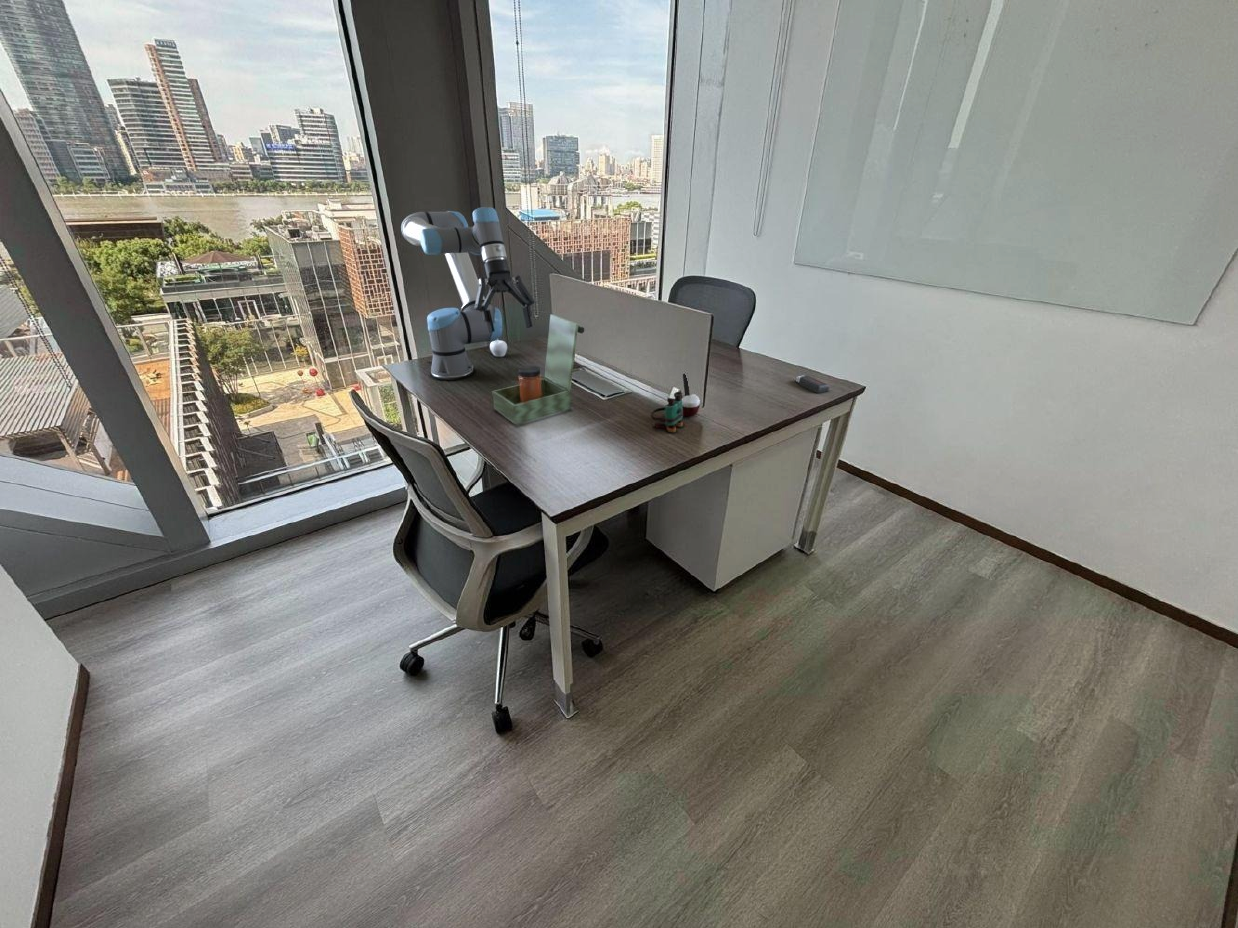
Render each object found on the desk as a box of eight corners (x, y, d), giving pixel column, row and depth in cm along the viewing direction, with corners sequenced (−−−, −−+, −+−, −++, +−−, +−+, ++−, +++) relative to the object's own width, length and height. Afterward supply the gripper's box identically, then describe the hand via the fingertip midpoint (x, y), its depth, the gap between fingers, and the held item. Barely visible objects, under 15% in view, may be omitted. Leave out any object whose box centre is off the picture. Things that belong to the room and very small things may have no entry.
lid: (576, 323, 146) (591, 324, 149) (550, 314, 155) (565, 314, 159) (568, 389, 154) (583, 388, 158) (544, 376, 164) (559, 376, 167)
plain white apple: (493, 352, 208) (491, 334, 204) (510, 353, 208) (508, 334, 203) (488, 357, 202) (486, 338, 198) (505, 358, 202) (503, 339, 197)
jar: (517, 407, 158) (513, 368, 151) (536, 402, 161) (533, 363, 155) (528, 414, 153) (524, 374, 146) (547, 409, 157) (544, 369, 150)
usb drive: (817, 393, 174) (819, 386, 173) (793, 382, 184) (795, 375, 182) (828, 391, 176) (830, 384, 175) (804, 380, 186) (805, 373, 184)
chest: (516, 426, 147) (514, 406, 144) (494, 410, 157) (492, 390, 154) (570, 410, 158) (569, 391, 154) (546, 396, 168) (545, 377, 164)
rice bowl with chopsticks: (698, 420, 153) (702, 384, 147) (678, 419, 154) (681, 383, 147) (698, 408, 161) (701, 374, 155) (679, 407, 162) (682, 372, 156)
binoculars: (658, 387, 150) (688, 391, 145) (659, 419, 155) (688, 424, 150) (644, 396, 144) (674, 401, 139) (645, 429, 149) (675, 435, 144)
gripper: (462, 259, 144) (479, 331, 148) (535, 256, 158) (549, 323, 163) (453, 266, 150) (470, 336, 154) (524, 263, 164) (538, 327, 169)
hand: (511, 329), depth 158 cm, fingers open, 13 cm apart
